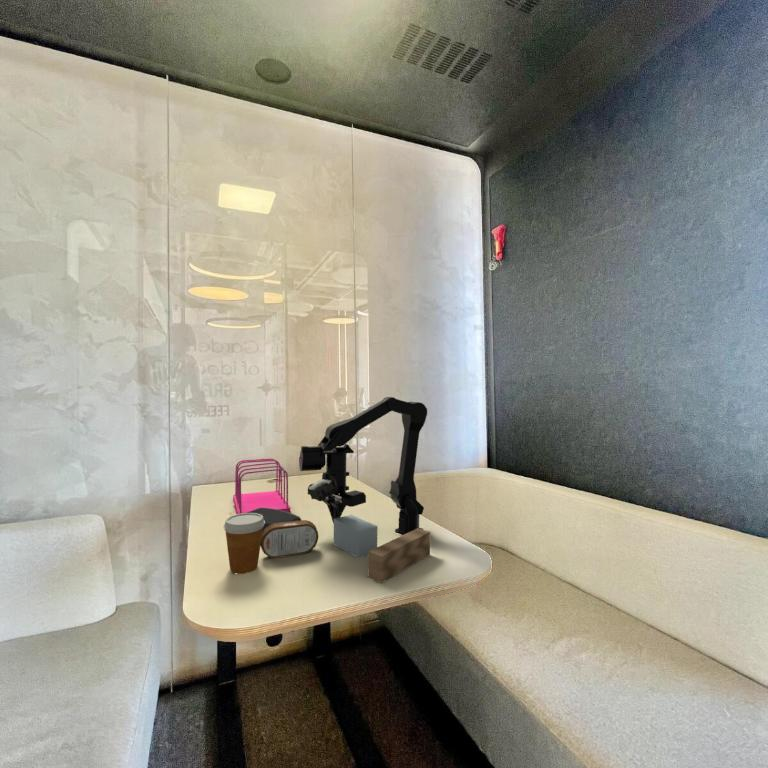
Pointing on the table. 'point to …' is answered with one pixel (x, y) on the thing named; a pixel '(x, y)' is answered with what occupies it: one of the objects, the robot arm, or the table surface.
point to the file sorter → (260, 499)
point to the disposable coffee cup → (244, 541)
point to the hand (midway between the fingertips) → (335, 523)
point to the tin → (289, 538)
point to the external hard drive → (275, 516)
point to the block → (355, 535)
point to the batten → (398, 554)
